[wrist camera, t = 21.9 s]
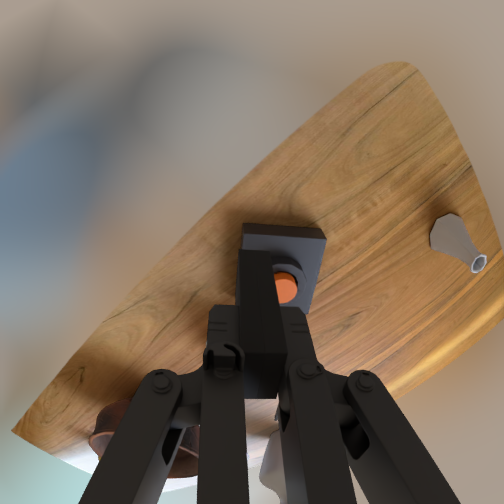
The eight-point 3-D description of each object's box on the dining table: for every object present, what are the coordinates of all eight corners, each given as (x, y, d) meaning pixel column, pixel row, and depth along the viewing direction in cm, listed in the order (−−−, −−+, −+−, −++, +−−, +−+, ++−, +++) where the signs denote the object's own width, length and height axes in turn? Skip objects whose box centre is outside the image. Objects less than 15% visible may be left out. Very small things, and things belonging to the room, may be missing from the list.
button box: (242, 222, 43) (243, 240, 39) (321, 228, 44) (330, 245, 40) (235, 298, 49) (236, 320, 45) (304, 301, 50) (310, 322, 46)
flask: (456, 249, 47) (488, 281, 38) (425, 253, 47) (455, 288, 38) (464, 211, 43) (500, 240, 35) (432, 213, 43) (468, 244, 35)
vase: (293, 415, 69) (307, 508, 47) (319, 432, 75) (334, 512, 53) (245, 433, 72) (250, 519, 51) (274, 448, 78) (283, 524, 57)
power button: (267, 270, 41) (269, 278, 40) (297, 272, 42) (299, 279, 40) (264, 295, 43) (265, 303, 42) (292, 296, 44) (294, 304, 42)
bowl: (171, 362, 56) (161, 430, 43) (226, 421, 68) (227, 475, 55) (83, 382, 60) (66, 436, 47) (144, 433, 72) (138, 481, 59)
